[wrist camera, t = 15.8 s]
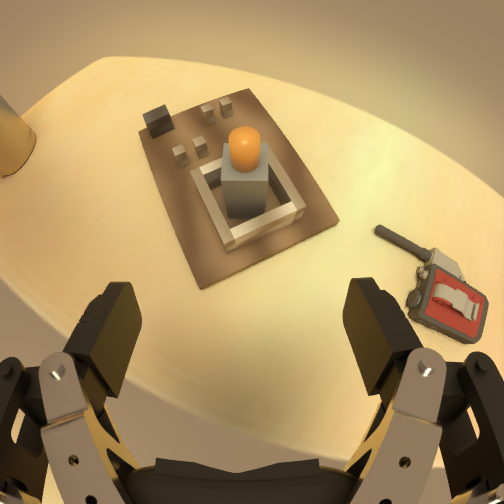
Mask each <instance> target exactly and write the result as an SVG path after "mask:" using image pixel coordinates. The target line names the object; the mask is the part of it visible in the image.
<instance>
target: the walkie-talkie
mask: <svg viewBox="0 0 504 504" xmlns="http://www.w3.org/2000/svg"><path fill="white" fill-rule="evenodd" d="M375 230H376V232H377V233H378V234H380V235H382V236H383V237H385V238H387V239H389V240H391V241H393V242H395V243H397V244H398V245H400V246H402V247H404V248H406V249H407V250H409V251H411V252H413V253H415V254H416V255H418V256H419V257H420V258H421V259H423V260H425V264H424V267H420V266H419V267H418V268H417V273H419V277H418V281H417V285H416V288H415V289H414V290H413V291H412V292H411V293H410V294H409V296H408V299H407V304H408V306H409V307H410V308H409V311H408V316H409V318H410V319H412V320H415V321H416V322H418V323H421V324H423V325H425V326H427V327H429V328H431V329H433V330H437V331H439V332H440V333H442V334H445V335H446V336H447V335H448V337H451V338H453V339H456V340H458V342H461V343H463V344H475V343H476V342H478V341H479V340H480V338H481V336H482V333H483V329H484V325H485V320H486V316H487V311H488V306H489V303H488V300H487V298H486V296H485V295H484V294H482V293H481V292H479V291H477V289H474V288H473V287H472V286H469V284H467V283H466V282H465V280H464V279H465V277H464V276H463V274H462V272H461V270H460V268H459V266H458V263H457V262H455V261H454V260H452V259H451V258H449V257H448V256H446V255H445V254H443V253H441V252H440V250H439V249H437V248H433V249H431V250H427V249H425V248H421V247H420V246H418V245H416V244H414V243H413V242H411V241H409V240H407V239H406V238H404V237H402V236H400V235H398V234H397V233H395V232H393V231H391V230H389V229H387V228H386V227H384V226H382V225H378V226H376V229H375Z"/></svg>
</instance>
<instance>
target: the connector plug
mask: <svg viewBox="0 0 504 504" xmlns="http://www.w3.org/2000/svg"><path fill="white" fill-rule="evenodd" d="M221 185H222V190H223V195H224V200H225V205H226V210H227V215H228V219H253V218H255V217H258V216H260V215H262V214H264V213H265V205H266V196H267V188H268V144H264V143H260V134H259V133H258V131H257V130H255V129H254V128H251V127H247V126H243V127H238V128H236V129H234V130H233V131H232V132H231V133H230V135H229V143H224V147H223V158H222V169H221Z"/></svg>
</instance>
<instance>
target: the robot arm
mask: <svg viewBox="0 0 504 504" xmlns="http://www.w3.org/2000/svg"><path fill="white" fill-rule="evenodd" d="M35 141H36V135H35V133H34V132H33V131H32V130H31V129H30V127H29V126H28V125H27V124H26V123H25V122H24V121H23V120H22V119H21V118H20V117H19V115H18V114H17V113H16V112H15V111H14V110H13V109H12V108H11V106H10V105H9V104H8V103H7V102H6V101H5V100H4V98H3V97H2V96H1V95H0V177H4V176H5V175H11V174H13V173H14V172H16V171H17V170H18V169H19V168H20V167H21V166H22V165H23V164H24V163H25V161H26V160H27V159H28V157H29V155H30V154H31V152H32V150H33V147H34V145H35ZM343 324H344V328H345V330H346V333H347V336H348V338H349V341H350V344H351V347H352V349H353V352H354V355H355V358H356V361H357V364H358V367H359V369H360V372H361V375H362V378H363V381H364V384H365V387H366V390H367V393H368V396H372V395H377V394H380V397H381V401H380V403H379V405H378V407H377V409H376V412H375V414H374V416H373V418H372V420H371V423H370V425H369V427H368V429H367V431H366V433H365V435H364V437H363V439H362V441H361V443H360V445H359V447H358V448H357V450H356V451H355V453H354V454H353V456H352V457H351V459H350V460H349V462H348V463H347V465H346V467H345V468H344V470H343V471H342V470H339V469H335V468H331V467H325V466H319V459H312V460H303V461H294V462H283V463H277V464H273V465H269V466H266V467H262V468H258V469H254V470H250V471H246V472H242V473H231V472H227V471H223V470H219V469H215V468H211V467H208V466H204V465H201V464H198V463H195V462H185V461H176V460H168V459H161V458H156V464H155V466H148V467H143V468H141V467H140V466H139V464H138V463H137V461H136V460H135V459H134V457H133V456H132V455H131V454H130V452H129V451H128V449H127V448H126V446H125V444H124V443H123V441H122V439H121V436H120V435H119V432H118V430H117V428H116V426H115V424H114V422H113V420H112V417H111V415H110V413H109V411H108V408H107V406H106V405H105V400H106V397H107V396H109V397H114V398H118V396H119V393H120V389H121V386H122V383H123V380H124V377H125V374H126V371H127V367H128V364H129V361H130V358H131V355H132V353H133V350H134V347H135V344H136V341H137V338H138V335H139V333H140V330H141V326H142V316H141V312H140V309H139V306H138V303H137V300H136V296H135V293H134V290H133V287H132V284H131V283H130V282H110V283H109V284H108V286H107V287H106V289H105V291H104V292H103V294H102V295H98V296H97V297H96V298H95V299H94V300H92V301H91V302H90V303H89V305H88V307H87V308H86V310H85V312H84V315H82V317H81V318H80V320H79V323H78V324H77V325H76V327H75V329H74V331H73V333H72V334H71V336H70V338H69V340H68V342H67V344H66V346H65V348H64V349H63V351H62V352H57V353H54V354H51V355H50V356H48V357H47V358H46V359H45V360H44V361H43V362H42V364H41V365H40V366H38V367H28V368H25V367H24V366H23V364H22V363H21V362H20V361H19V359H17V358H15V357H9V358H6V359H5V360H3V361H2V362H1V363H0V504H42V496H43V490H44V483H45V478H46V473H47V468H48V463H49V464H50V467H51V470H52V473H53V476H54V479H55V481H56V484H57V487H58V489H59V492H60V494H61V497H62V499H63V501H64V504H418V501H419V499H420V497H421V494H422V492H423V490H424V487H425V484H426V482H427V479H428V476H429V474H430V471H431V468H432V465H433V462H434V459H435V456H436V453H437V449H438V446H439V447H440V451H441V454H442V458H443V462H444V466H445V470H446V474H447V478H448V483H449V487H450V492H451V497H452V501H451V503H450V504H504V381H503V379H502V377H501V375H500V373H499V371H498V369H497V367H496V365H495V364H494V362H493V360H492V359H491V358H490V357H489V356H488V355H486V354H484V353H482V352H472V353H470V354H469V355H468V357H467V358H466V359H465V361H464V362H445V361H444V359H443V358H442V356H441V355H440V354H439V353H437V352H436V351H434V350H432V349H429V348H424V347H423V345H422V344H421V342H420V340H419V338H418V336H417V335H416V333H415V331H414V329H413V328H412V326H411V324H410V323H409V321H408V319H407V318H406V317H405V314H404V312H403V311H402V310H401V308H400V306H399V304H398V303H397V301H396V299H395V298H394V297H393V296H392V295H390V294H389V293H388V292H387V291H385V290H380V289H379V287H378V285H377V284H376V282H375V280H374V279H373V278H372V277H365V278H352V279H351V281H350V284H349V288H348V293H347V297H346V301H345V305H344V309H343ZM470 406H471V408H472V411H473V413H474V416H475V418H476V421H477V424H478V426H479V430H480V434H479V438H478V440H477V437H476V434H475V431H474V428H473V426H472V423H471V420H470V418H469V415H468V412H467V409H468V408H469V407H470ZM19 408H20V409H21V410H22V411H23V412H24V413H25V416H24V419H23V422H22V426H21V428H20V432H19V435H18V438H17V442H16V444H15V443H14V442H13V440H12V437H11V430H12V427H13V423H14V421H15V418H16V414H17V412H18V409H19Z"/></svg>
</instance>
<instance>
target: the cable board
mask: <svg viewBox="0 0 504 504" xmlns="http://www.w3.org/2000/svg"><path fill="white" fill-rule="evenodd" d="M143 117H144V120H145V123H146V125H147V128H145V129H143V130H141V131H139V132H138V133H139V136H140V139H141V142H142V145H143V148H144V151H145V154H146V156H147V159H148V162H149V165H150V168H151V171H152V173H153V176H154V179H155V181H156V184H157V187H158V189H159V192H160V195H161V197H162V200H163V203H164V205H165V208H166V210H167V213H168V215H169V218H170V220H171V223H172V225H173V228H174V230H175V233H176V235H177V238H178V240H179V242H180V245H181V247H182V250H183V252H184V254H185V257H186V259H187V261H188V264H189V266H190V268H191V270H192V273H193V275H194V277H195V279H196V282H197V284H198V286H199V288H200V289H201V290H202V289H204V288H206V287H209V286H211V285H213V284H215V283H217V282H219V281H221V280H223V279H225V278H227V277H230V276H232V275H234V274H236V273H238V272H240V271H242V270H244V269H246V268H248V267H250V266H252V265H255V264H257V263H259V262H261V261H263V260H265V259H267V258H269V257H271V256H273V255H275V254H277V253H279V252H281V251H283V250H286V249H288V248H290V247H292V246H294V245H296V244H298V243H300V242H302V241H304V240H306V239H308V238H310V237H312V236H314V235H316V234H318V233H320V232H322V231H324V230H326V229H328V228H330V227H332V226H334V225H336V224H337V223H338V222H339V221H340V220H339V218H338V216H337V215H336V213H335V211H334V210H333V208H332V206H331V205H330V203H329V202H328V200H327V198H326V197H325V195H324V194H323V192H322V190H321V189H320V187H319V186H318V184H317V182H316V181H315V179H314V178H313V176H312V175H311V173H310V172H309V170H308V169H307V167H306V166H305V164H304V163H303V161H302V160H301V158H300V157H299V155H298V154H297V152H296V151H295V149H294V148H293V147H292V145H291V144H290V142H289V141H288V140H287V138H286V137H285V135H284V134H283V133H282V131H281V130H280V128H279V127H278V126H277V124H276V123H275V122H274V120H273V119H272V118H271V116H270V115H269V114H268V112H267V111H266V110H265V108H264V107H263V106H262V104H261V103H260V102H259V100H258V99H257V98H256V97H255V95H254V94H253V93H252V92H251V90H250V89H249V88H248V89H244V90H241V91H238V92H235V93H232V94H229V95H226V96H223V97H220V98H217V99H214V100H211V101H209V102H206V103H203V104H201V105H198V106H195V107H193V108H190V109H188V110H185V111H183V112H180V113H178V114H176V115H173V116H171V117H170V114H169V112H168V110H167V108H166V105H162V106H160V107H158V108H156V109H153V110H151V111H149V112H147V113H145V114H143ZM243 126H247V127H251V128H254V129H255V130H257V131H258V133H259V134H260V143H264V144H268V188H267V196H266V205H265V213H264V214H262V215H260V216H258V217H255V218H253V219H228V215H227V210H226V205H225V200H224V195H223V190H222V185H221V169H222V158H223V147H224V143H229V135H230V133H231V132H232V131H233V130H234V129H236V128H238V127H243Z"/></svg>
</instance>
